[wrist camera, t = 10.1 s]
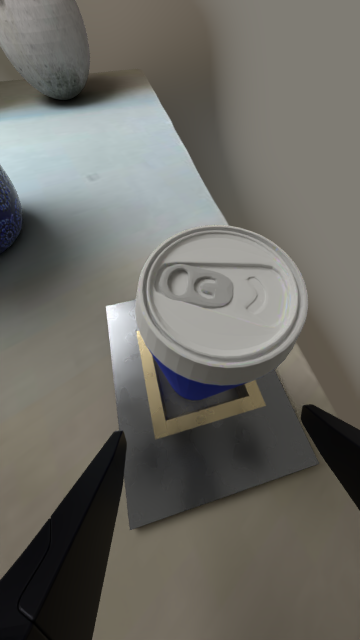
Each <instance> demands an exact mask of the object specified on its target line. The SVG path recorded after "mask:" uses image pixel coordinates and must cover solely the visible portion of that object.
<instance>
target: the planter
mask: <svg viewBox="0 0 360 640" xmlns="http://www.w3.org/2000/svg"><path fill="white" fill-rule="evenodd" d="M22 223H23V215H22V208H21V203H20V200H19V197H18V194H17V191H16V189H15V188H14V186H13V184H12V182H11V180H10V179H9V177H8V175H7V174H6V172H5V171H4V169H3V168H2V166H1V165H0V253H2V252H3V251H5V250H6V249H7V248H8V247H9V246H10V245H12V243H13V242H14V241H15V240H16V239H17V237H18V235H19V233H20V231H21V227H22Z"/></svg>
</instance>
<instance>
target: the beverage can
mask: <svg viewBox="0 0 360 640" xmlns="http://www.w3.org/2000/svg"><path fill="white" fill-rule="evenodd" d="M307 311H308V294H307V289H306V285H305V282H304V279H303V277H302V274H301V272H300V271H299V269H298V268H297V266H296V264H295V263H294V262H293V260H292V259H291V258H290V257H289V255H288V254H287V253H285V252H284V251H283V250H282V249H281V248H280V247H279V246H277V245H276V244H275V243H273V242H272V241H270V240H269V239H267V238H265V237H263V236H261V235H259V234H257V233H254V232H252V231H249V230H246V229H242V228H238V227H232V226H224V225H209V226H201V227H195V228H192V229H188V230H185V231H182V232H180V233H178V234H175V235H174V236H172V237H170V238H169V239H167V240H166V241H164V242H163V243H162V244H160V245H159V246H158V247H157V248H156V249H155V250H154V251H153V252H152V254H151V255H150V257H149V258H148V259H147V261H146V263H145V265H144V267H143V269H142V271H141V274H140V278H139V282H138V288H137V295H136V305H135V313H136V322H137V325H138V329H139V332H140V334H141V336H142V338H143V340H144V342H145V344H146V346H147V348H148V349H149V351H150V352H151V354H152V356H153V357H154V359H155V361H156V362H157V364H158V365H159V367H160V369H161V370H162V372H163V373H164V375H165V377H166V378H167V380H168V382H169V383H170V385H171V386H172V388H173V389H174V391H175V392H176V393H177V394H179V395H180V396H181V397H183V398H185V399H188V400H201V399H205V398H207V397H210V396H213V395H216V394H218V393H221V392H224V391H226V390H229V389H232V388H235V387H237V386H240V385H243V384H246V383H248V382H251V381H253V380H256V379H258V378H261V377H263V376H265V375H266V374H268V373H269V372H271V371H272V370H274V369H275V368H277V367H278V366H279V365H280V364H281V363H282V362H283V361H284V360H285V359H286V357H287V356H288V354H289V353H290V351H291V350H292V348H293V346H294V344H295V342H296V340H297V338H298V336H299V334H300V333H301V330H302V328H303V326H304V323H305V321H306V316H307Z"/></svg>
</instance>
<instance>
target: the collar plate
mask: <svg viewBox="0 0 360 640" xmlns="http://www.w3.org/2000/svg"><path fill="white" fill-rule="evenodd" d="M135 305H136V300H132V301H127V302H123V303H119V304H114V305H110V306H106V310H107V319H108V329H109V338H110V348H111V357H112V367H113V376H114V385H115V395H116V404H117V414H118V423H119V430H123V431H124V434H125V438H126V441H127V450H126V460H125V469H124V480H125V489H126V498H127V508H128V517H129V527H130V530H132V529H135V528H137V527H140V526H143V525H146V524H149V523H152V522H154V521H157V520H160V519H163V518H166V517H169V516H172V515H174V514H177V513H180V512H183V511H186V510H189V509H191V508H194V507H197V506H200V505H203V504H206V503H209V502H211V501H214V500H217V499H220V498H223V497H226V496H228V495H231V494H234V493H237V492H240V491H243V490H245V489H248V488H251V487H254V486H257V485H260V484H263V483H265V482H268V481H271V480H274V479H277V478H280V477H282V476H285V475H288V474H291V473H294V472H297V471H300V470H302V469H305V468H308V467H311V466H314V465H317V464H319V462H318V460H317V458H316V456H315V454H314V452H313V450H312V448H311V446H310V443H309V441H308V439H307V437H306V435H305V433H304V431H303V429H302V427H301V425H300V422H299V420H298V418H297V416H296V414H295V412H294V410H293V408H292V406H291V403H290V401H289V399H288V397H287V395H286V393H285V391H284V389H283V387H282V385H281V382H280V380H279V378H278V376H277V374H276V372H275V370H272V371H271V372H269V373H268V374H266V375H265V376H263V377H261V378H258V379H256V380H253V381H251V382H248V383H246V384H243V385H240V386H237V387H235V388H232V389H229V390H226V391H224V392H221V393H218V394H216V395H213V396H210V397H207V398H205V399H201V400H188V399H185V398H183V397H181V396H180V395H179V394H177V393H176V392H175V391H174V389H173V388H172V386H171V385H170V383H169V382H168V380H167V378H166V377H165V375H164V373H163V372H162V370H161V369H160V367H159V365H158V364H157V362H156V361H155V359H154V357H153V356H152V354H151V352H150V351H149V349H148V348H147V346H146V344H145V342H144V340H143V338H142V336H141V334H140V332H139V329H138V325H137V322H136V313H135Z"/></svg>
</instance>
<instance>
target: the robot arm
mask: <svg viewBox="0 0 360 640" xmlns="http://www.w3.org/2000/svg"><path fill="white" fill-rule="evenodd" d="M301 421H302V423H303V425H304V427H305V428H306V430H307V432H308V433H309V435H310V437H311V439H312V440H313V442H314V444H315V445H316V447H317V449H318V450H319V452H320V454H321V455H322V457H323V458H324V460H325V461H326V463H327V464H328V466H329V467H330V468H331V470H332V471H333V473H334V474H335V476H336V477H337V478H338V480H339V481H340V483H341V484H342V486H343V487H344V489H345V490H346V491H347V493H348V494H349V496H350V497H351V499H352V500H353V501H354V503H355V504H356V506H357V507H358V509H359V510H360V430H359V429H357V428H355V427H353V426H351V425H350V424H348V423H346V422H344V421H342V420H340V419H338V418H337V417H335V416H333V415H331V414H329V413H327V412H325V411H324V410H322V409H320V408H318V407H316V406H314V405H312V404H309V405H304V406H303V407H302V413H301ZM126 450H127V441H126V438H125V434H124V431H123V430H119V431H115V432H113V434H112V435H111V436H110V438H109V439H108V440H107V442H106V443H105V444H104V446H103V447H102V448H101V450H100V451H99V452H98V454H97V455H96V456H95V458H94V459H93V460H92V462H91V463H90V464H89V466H88V467H87V469H86V470H85V471H84V473H83V474H82V475H81V477H80V478H79V479H78V481H77V482H76V483H75V485H74V486H73V487H72V489H71V490H70V491H69V493H68V494H67V495H66V497H65V498H64V499H63V501H62V502H61V503H60V505H59V506H58V507H57V509H56V510H55V511H54V513H53V514H52V515H51V519H48V521H47V522H46V523H45V525H44V526H43V527H42V529H41V530H40V531H39V532H38V534H37V535H36V536H35V538H34V539H33V540H32V542H31V543H30V544H29V545H28V547H27V548H26V549H25V551H24V552H23V553H22V554H21V556H20V557H19V558H18V559H17V560H16V562H15V563H14V564H13V565H12V567H11V568H10V569H9V570H8V571H7V573H6V574H5V575H4V576H3V578H2V579H1V580H0V640H92V637H93V632H94V627H95V622H96V617H97V612H98V607H99V602H100V597H101V592H102V587H103V582H104V577H105V572H106V567H107V562H108V557H109V552H110V547H111V542H112V537H113V532H114V527H115V522H116V517H117V512H118V507H119V502H120V497H121V492H122V486H123V478H124V469H125V460H126Z"/></svg>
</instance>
